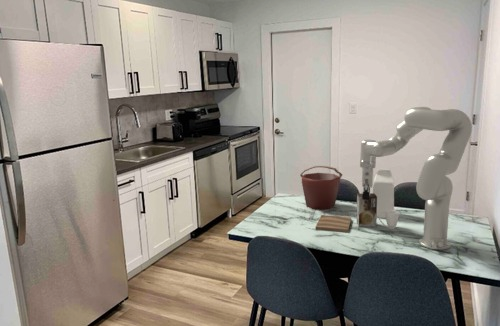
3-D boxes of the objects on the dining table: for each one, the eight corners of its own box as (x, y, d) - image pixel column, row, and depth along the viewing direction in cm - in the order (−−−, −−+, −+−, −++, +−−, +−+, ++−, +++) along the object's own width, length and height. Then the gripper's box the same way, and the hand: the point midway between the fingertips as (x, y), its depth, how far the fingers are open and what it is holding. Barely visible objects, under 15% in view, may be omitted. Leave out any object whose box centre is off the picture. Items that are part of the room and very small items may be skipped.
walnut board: (348, 232, 189) (348, 229, 189) (315, 229, 194) (315, 226, 194) (351, 219, 208) (351, 217, 207) (321, 217, 213) (321, 214, 213)
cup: (396, 230, 190) (396, 214, 189) (376, 226, 196) (376, 211, 195) (400, 226, 196) (401, 211, 194) (381, 223, 202) (381, 208, 200)
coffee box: (373, 222, 202) (374, 193, 200) (376, 227, 196) (377, 196, 193) (356, 222, 203) (356, 193, 200) (358, 226, 197) (359, 196, 194)
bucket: (345, 204, 238) (346, 164, 234) (333, 213, 219) (334, 170, 215) (308, 199, 250) (308, 161, 246) (294, 208, 231) (294, 167, 227)
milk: (370, 217, 212) (372, 170, 208) (371, 211, 223) (373, 167, 218) (394, 218, 208) (396, 171, 204) (393, 212, 219) (395, 167, 215)
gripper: (375, 168, 185) (373, 202, 188) (375, 161, 201) (374, 193, 204) (359, 167, 187) (357, 200, 191) (361, 160, 203) (359, 192, 207)
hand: (366, 196), depth 197 cm, fingers open, 9 cm apart
